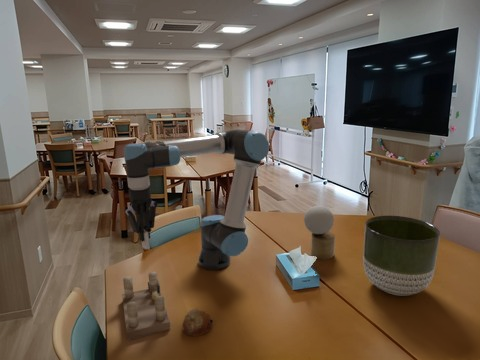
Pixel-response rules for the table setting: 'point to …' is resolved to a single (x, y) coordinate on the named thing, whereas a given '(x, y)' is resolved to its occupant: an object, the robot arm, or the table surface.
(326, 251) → the lamp
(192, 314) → the bread roll
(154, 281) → the hinged leg
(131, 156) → the robot arm
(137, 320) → the peg board
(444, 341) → the table surface
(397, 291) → the planter
